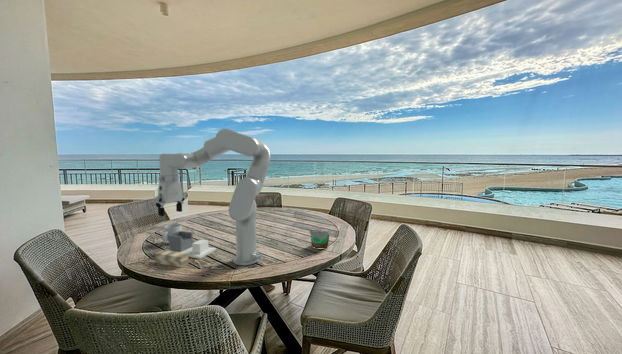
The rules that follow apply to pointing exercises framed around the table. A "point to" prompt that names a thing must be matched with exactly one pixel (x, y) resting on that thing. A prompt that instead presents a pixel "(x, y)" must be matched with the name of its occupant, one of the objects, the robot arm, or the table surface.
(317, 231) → the food container
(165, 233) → the mug
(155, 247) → the table surface
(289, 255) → the table surface
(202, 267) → the table surface
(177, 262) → the top rail
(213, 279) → the table surface
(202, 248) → the cup bracket
